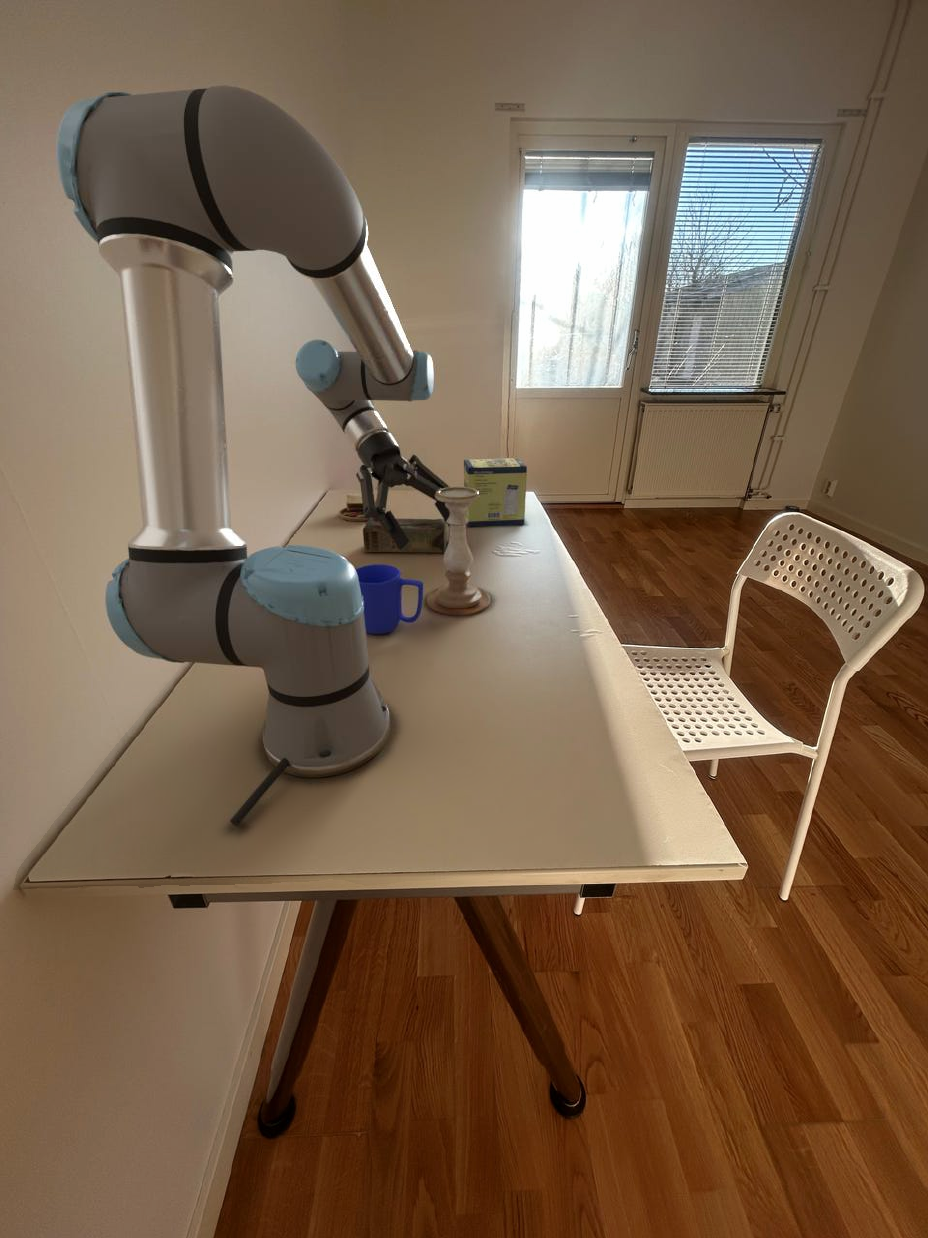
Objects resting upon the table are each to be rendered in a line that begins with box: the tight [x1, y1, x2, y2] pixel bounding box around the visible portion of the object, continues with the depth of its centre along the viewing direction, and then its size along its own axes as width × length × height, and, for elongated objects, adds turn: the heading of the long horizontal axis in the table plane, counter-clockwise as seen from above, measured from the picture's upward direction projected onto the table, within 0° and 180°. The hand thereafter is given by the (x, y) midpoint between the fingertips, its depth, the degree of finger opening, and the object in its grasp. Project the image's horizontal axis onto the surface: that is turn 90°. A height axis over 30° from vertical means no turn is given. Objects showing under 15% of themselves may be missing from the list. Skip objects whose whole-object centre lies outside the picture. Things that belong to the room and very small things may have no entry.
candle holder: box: [435, 486, 482, 609], centre depth 92 cm, size 9×9×20 cm
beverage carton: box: [362, 517, 448, 554], centre depth 121 cm, size 8×19×7 cm, turn 89°
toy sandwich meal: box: [337, 492, 376, 522], centre depth 145 cm, size 12×14×5 cm
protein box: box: [463, 457, 528, 528], centre depth 137 cm, size 10×16×16 cm
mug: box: [355, 563, 424, 635], centre depth 86 cm, size 8×12×10 cm
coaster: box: [426, 588, 491, 617], centre depth 97 cm, size 12×12×1 cm
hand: (431, 536), depth 96 cm, fingers open, 13 cm apart
